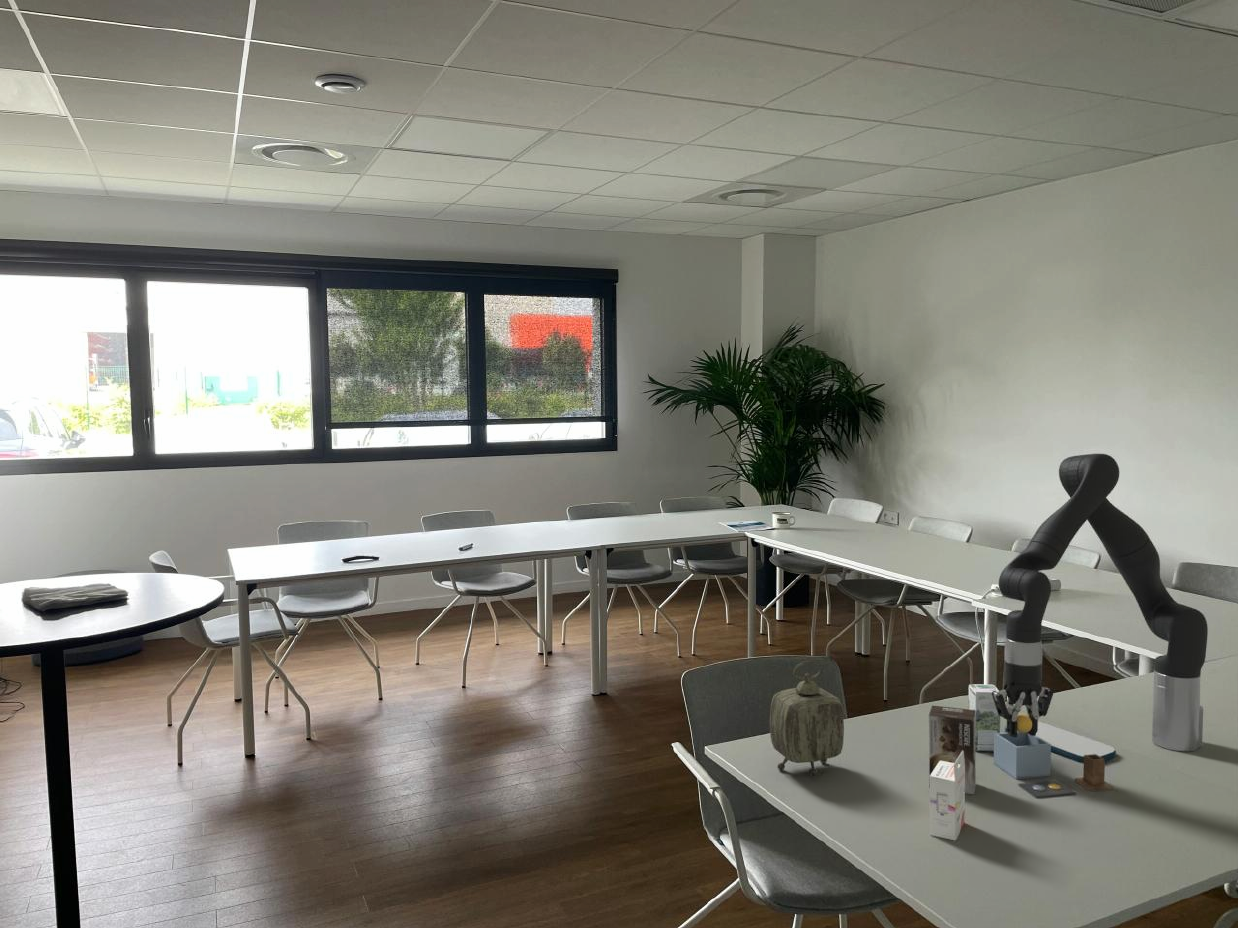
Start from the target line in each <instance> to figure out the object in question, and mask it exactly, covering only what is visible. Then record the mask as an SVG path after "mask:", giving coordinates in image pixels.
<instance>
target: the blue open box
mask: <svg viewBox="0 0 1238 928" xmlns="http://www.w3.org/2000/svg"><path fill="white" fill-rule="evenodd" d="M1051 755H1052V752H1051V744H1049V743H1048V742H1046V741H1044V740H1043V739H1041V738H1039V737H1038V736H1036V735H1035V736H1031V735H1030V734H1028V733H1020V732H1018V731H1017V737H1015V738H1013V737H1011V736H1010V735H1009V734H1008V733H1007V732H1005V731H1004V732H1000V733H995V734H994V752H993V765H995V766H997V768H999V769H1000V770H1002V771H1003V772H1005V773H1006V774H1008V775H1009V776H1011V777H1012V778H1013V779H1015V780H1021V779H1023V780H1024V779H1031V778H1039V777H1040V778H1041V777H1050V776H1051V770H1052V769H1051V766H1052V765H1051V764H1052V762H1051V761H1052V759H1051V758H1052V756H1051Z"/></svg>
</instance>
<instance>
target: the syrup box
mask: <svg viewBox="0 0 1238 928" xmlns="http://www.w3.org/2000/svg"><path fill="white" fill-rule="evenodd" d="M993 691H996V692H998V691H1000V690H999V688H997V687H996V685H994V684H984V683H983V684H981V683H980V684H979V683H978V684H973V683H972V684H968V703H967V704H968V705H967V706H968V708H967V709H969V710H975V752H993V753H994V734H995V733H1001V716H999V715H998V712H997V709H996V706H995V703H994V700H993V697H992V692H993Z"/></svg>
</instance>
